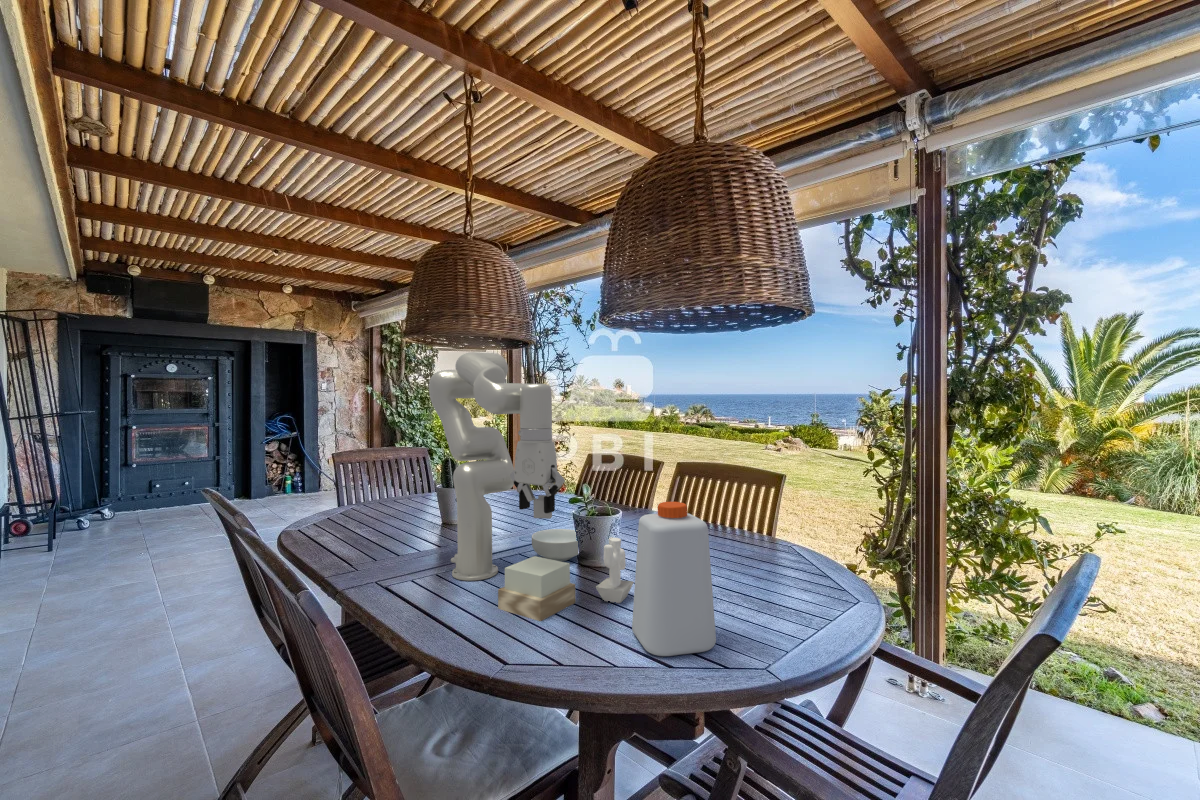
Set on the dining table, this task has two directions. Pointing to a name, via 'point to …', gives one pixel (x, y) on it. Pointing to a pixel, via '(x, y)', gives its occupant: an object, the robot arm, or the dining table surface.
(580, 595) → the dining table surface
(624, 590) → the figurine
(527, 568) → the sage top block
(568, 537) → the cereal bowl
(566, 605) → the birch base block
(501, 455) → the robot arm
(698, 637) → the plastic bottle
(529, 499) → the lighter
